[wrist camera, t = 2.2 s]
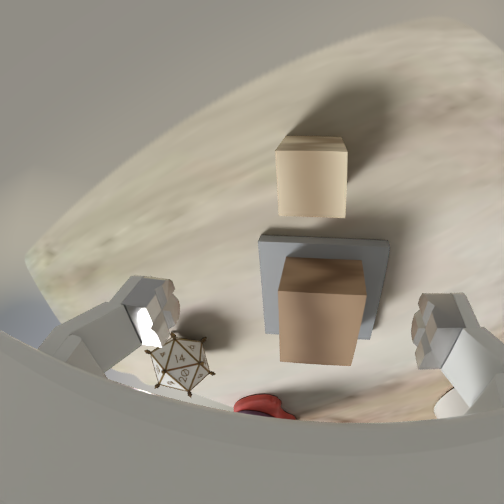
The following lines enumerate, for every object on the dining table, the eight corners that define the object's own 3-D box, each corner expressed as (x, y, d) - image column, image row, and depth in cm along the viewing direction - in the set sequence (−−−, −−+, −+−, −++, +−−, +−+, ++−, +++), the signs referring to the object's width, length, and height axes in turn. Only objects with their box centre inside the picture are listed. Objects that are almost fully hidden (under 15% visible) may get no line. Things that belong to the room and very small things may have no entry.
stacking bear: (300, 421, 46) (282, 511, 31) (251, 424, 50) (228, 504, 35) (274, 392, 42) (248, 497, 27) (221, 396, 46) (188, 487, 31)
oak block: (341, 136, 22) (347, 151, 17) (340, 188, 24) (345, 218, 19) (285, 135, 23) (275, 150, 18) (288, 187, 25) (278, 215, 20)
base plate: (387, 240, 25) (390, 247, 24) (369, 331, 31) (369, 339, 30) (260, 235, 28) (258, 241, 27) (267, 326, 34) (265, 333, 33)
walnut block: (361, 260, 26) (366, 295, 21) (350, 329, 30) (350, 365, 26) (286, 256, 27) (277, 290, 23) (287, 326, 32) (280, 361, 28)
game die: (192, 313, 42) (156, 321, 32) (235, 354, 40) (210, 374, 30) (159, 355, 42) (120, 369, 32) (199, 394, 40) (167, 419, 30)
